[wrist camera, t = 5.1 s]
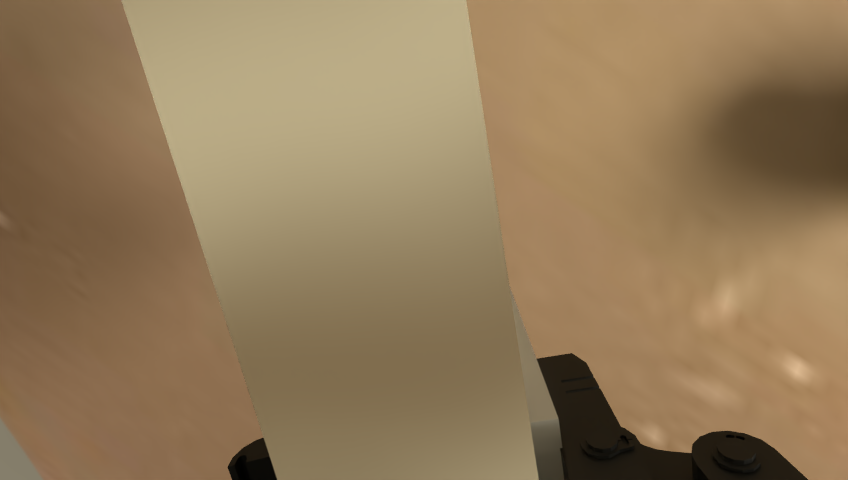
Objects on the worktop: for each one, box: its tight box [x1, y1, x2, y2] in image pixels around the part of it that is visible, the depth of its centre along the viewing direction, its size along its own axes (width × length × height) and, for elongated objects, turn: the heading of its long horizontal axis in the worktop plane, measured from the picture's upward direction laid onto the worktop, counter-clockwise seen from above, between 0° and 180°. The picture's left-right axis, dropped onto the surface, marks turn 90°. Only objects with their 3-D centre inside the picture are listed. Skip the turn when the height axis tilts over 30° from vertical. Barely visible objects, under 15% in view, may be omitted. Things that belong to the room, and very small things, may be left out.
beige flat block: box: [121, 0, 539, 480], centre depth 10 cm, size 15×3×10 cm, turn 11°
